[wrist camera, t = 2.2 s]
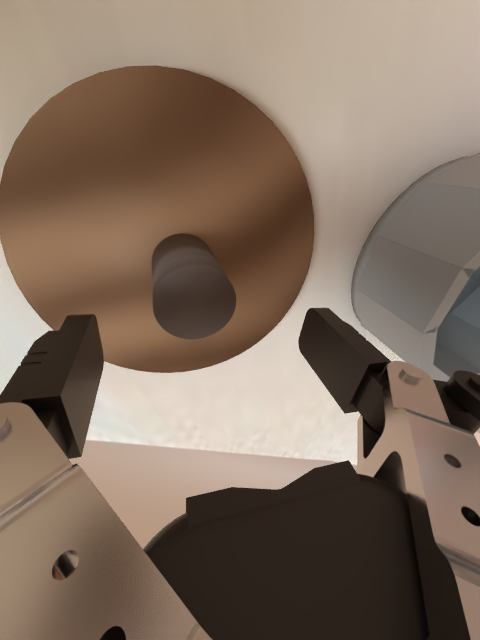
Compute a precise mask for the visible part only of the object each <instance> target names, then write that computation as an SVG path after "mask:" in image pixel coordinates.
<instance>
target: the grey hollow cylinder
mask: <svg viewBox="0 0 480 640" xmlns="http://www.w3.org/2000/svg"><path fill="white" fill-rule="evenodd" d="M351 298H352V305H353V309H354V312H355V314H356V317H357V318H358V320H359V321H360V322H361V324H362V326H363V327H364V328H366V329H367V330H368V331H369V332H370V333H372V334H373V335H374V336H375V337H376V338H378V339H379V340H380V341H381V342H382V343H384V344H385V345H386V346H387V347H388V348H390V349H391V350H392V351H393V352H394V353H396V354H397V355H398V356H399V357H400V358H402V359H403V360H404V361H405V362H406V363H409V364H412V365H414V366H416V367H418V368H420V369H421V370H423V371H424V372H426V373H427V374H428V375H429V376H430V377H431V378H432V379H433V380H439V381H446V382H447V381H448V380H449V379H450V377H451V376H452V375H453V373H454V372H455V371H459V370H463V371H469V372H472V373H475V374H478V375H480V153H479V154H477V155H475V156H471V157H463V158H459V159H456V160H453V161H450V162H447V163H445V164H443V165H441V166H439V167H437V168H435V169H433V170H432V171H430V172H428V173H427V174H425V175H424V176H422V177H421V178H420V179H418V180H417V181H416V182H414V183H413V184H412V185H411V186H410V187H409V188H407V189H406V190H405V191H404V192H403V193H402V194H401V195H400V196H399V197H398V198H397V199H396V200H395V201H394V202H393V203H392V205H391V206H390V207H389V208H388V209H387V210H386V212H385V213H384V214H383V216H382V217H381V218H380V219H379V221H378V222H377V224H376V225H375V227H374V228H373V230H372V232H371V233H370V235H369V237H368V239H367V241H366V242H365V244H364V246H363V248H362V251H361V253H360V255H359V258H358V261H357V264H356V267H355V270H354V274H353V280H352V288H351Z"/></svg>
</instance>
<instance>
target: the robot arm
mask: <svg viewBox="0 0 480 640" xmlns="http://www.w3.org/2000/svg"><path fill="white" fill-rule="evenodd" d="M299 349H300V352H301V353H302V355H303V356H304V358H305V359H306V360H307V362H308V363H309V365H310V366H311V367H312V369H313V370H314V371H315V373H316V374H317V376H318V377H319V378H320V380H321V381H322V383H323V384H324V385H325V387H326V388H327V390H328V391H329V392H330V394H331V395H332V396H333V398H334V399H335V401H336V402H337V403H338V405H339V406H340V408H341V409H342V410H343V412H344V413H351V412H357V411H359V413H360V414H361V415H360V417H359V419H358V462H357V471H355V470H354V468H353V466H352V465H351V463H350V462H349V460H348V461H344V462H340V463H335V464H331V465H327V466H323V467H318V468H314V469H312V470H311V471H309V472H308V473H306V474H305V475H303V476H301V477H300V478H298V479H297V480H295V481H293V482H292V483H290V484H289V485H287V486H285V487H284V488H282V489H278V490H271V489H252V488H235V487H231V488H227V489H223V490H218V491H214V492H210V493H206V494H201V495H197V496H193V497H188V498H186V513H185V514H183V515H181V516H179V517H178V518H176V519H175V520H173V521H172V522H171V523H169V524H168V525H167V526H165V527H164V528H163V529H162V530H161V531H160V532H159V533H158V534H157V535H156V536H155V537H153V538H152V540H151V541H150V542H149V543H148V544H147V545H146V547H145V548H144V549H142V548H141V546H140V545H139V544H138V542H137V541H136V540H135V538H134V537H133V536H132V534H131V533H130V532H129V530H128V529H127V528H126V526H125V525H124V524H123V522H122V521H121V520H120V518H119V517H118V516H117V514H116V513H115V512H114V511H113V509H112V508H111V506H110V505H109V504H108V502H107V501H106V500H105V498H104V497H103V496H102V494H101V493H100V492H99V490H98V489H97V488H96V486H95V485H94V484H93V482H92V481H91V480H90V478H89V477H88V476H87V474H86V473H85V472H84V471H83V469H82V468H81V467H80V466H79V465H78V464H75V465H73V464H72V463H71V462H70V461H69V459H71V458H76V457H81V456H82V452H83V448H84V444H85V440H86V435H87V431H88V427H89V423H90V419H91V415H92V411H93V407H94V403H95V399H96V395H97V391H98V387H99V383H100V379H101V375H102V371H103V364H104V355H103V348H102V343H101V338H100V333H99V328H98V323H97V318H96V316H95V315H94V314H80V315H68V316H67V317H66V318H65V320H64V322H63V324H62V326H61V328H60V329H59V330H58V331H48V332H47V333H46V334H44V335H43V336H41V337H40V338H39V339H37V340H36V341H35V342H34V343H33V345H32V346H31V348H30V350H29V351H28V353H27V355H26V356H25V357H24V359H23V361H22V362H21V366H19V367H18V368H17V370H16V371H15V373H14V375H13V376H12V378H11V379H10V381H9V382H8V384H7V385H6V387H5V389H4V390H3V392H2V393H1V395H0V640H480V446H479V444H478V442H477V440H476V438H475V436H474V434H475V433H476V432H477V431H478V429H479V428H480V375H478V374H475V373H472V372H469V371H463V370H459V371H455V372H454V373H453V375H452V376H451V377H450V379H449V380H448V381H447V382H446V381H439V380H433V379H432V378H431V377H430V376H429V375H428V374H427V373H426V372H424V371H423V370H421V369H420V368H418V367H416V366H414V365H412V364H409V363H406V362H401V361H393V362H391V361H390V360H389V359H388V358H387V357H385V356H384V355H383V354H382V353H381V352H380V351H379V350H378V349H377V348H375V347H374V346H373V345H372V344H371V343H370V342H369V341H368V340H367V341H366V339H365V338H364V337H363V336H362V335H361V334H359V332H357V331H356V330H355V329H354V328H353V327H352V326H351V325H349V324H347V323H346V322H344V321H342V320H341V319H340V318H339V317H338V316H337V315H336V314H335V313H333V312H332V311H331V310H330V309H329V308H310V309H309V310H308V311H307V313H306V316H305V319H304V323H303V326H302V330H301V333H300V337H299Z"/></svg>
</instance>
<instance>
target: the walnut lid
mask: <svg viewBox="0 0 480 640" xmlns="http://www.w3.org/2000/svg"><path fill="white" fill-rule="evenodd" d="M0 239H1V243H2V247H3V250H4V254H5V257H6V261H7V264H8V266H9V268H10V270H11V273H12V275H13V277H14V279H15V282H16V284H17V285H18V287H19V289H20V290H21V292H22V293H23V295H24V297H25V298H26V300H27V301H28V303H29V304H30V305H31V306H32V308H33V309H34V310H35V311H36V312H37V314H38V315H39V316H40V317H41V319H42V320H44V321H45V322H46V323H47V324H48V325H49V326H50V327H51V328H52V329H53V330H54V331H58V330H59V329H60V328H61V326H62V324H63V322H64V320H65V318H66V317H67V316H68V315H80V314H94V315H95V316H96V318H97V323H98V328H99V333H100V338H101V343H102V348H103V355H104V361H105V362H108V363H111V364H114V365H117V366H120V367H125V368H129V369H133V370H139V371H147V372H160V373H172V372H185V371H191V370H197V369H201V368H205V367H209V366H213V365H216V364H218V363H221V362H224V361H226V360H228V359H231V358H233V357H235V356H237V355H239V354H241V353H242V352H244V351H246V350H247V349H249V348H251V347H252V346H253V345H255V344H256V343H257V342H259V341H260V340H261V339H263V338H264V337H265V336H266V335H267V334H268V333H269V332H270V331H272V330H273V329H274V327H275V326H276V325H277V324H278V323H279V322H280V321H281V320H282V319H283V317H284V316H285V314H286V313H287V312H288V310H289V309H290V308H291V306H292V304H293V303H294V301H295V299H296V298H297V296H298V294H299V292H300V290H301V287H302V285H303V283H304V281H305V278H306V275H307V272H308V268H309V265H310V260H311V256H312V251H313V241H314V214H313V207H312V200H311V195H310V191H309V188H308V184H307V181H306V177H305V175H304V173H303V170H302V168H301V166H300V163H299V161H298V158H297V157H296V155H295V153H294V152H293V150H292V148H291V147H290V145H289V143H288V141H287V140H286V138H285V137H284V136H283V135H282V133H281V132H280V131H279V130H278V128H277V127H276V126H275V125H274V123H273V122H272V121H271V120H270V119H269V118H268V117H267V116H266V115H265V114H264V113H263V112H262V111H261V110H260V109H258V108H257V107H256V106H255V105H254V104H253V103H251V102H250V101H249V100H247V99H246V98H244V97H243V96H242V95H240V94H239V93H237V92H236V91H234V90H233V89H231V88H229V87H227V86H225V85H223V84H221V83H219V82H217V81H215V80H213V79H211V78H208V77H205V76H202V75H199V74H196V73H193V72H189V71H186V70H182V69H175V68H168V67H161V66H131V67H124V68H119V69H114V70H109V71H105V72H100V73H97V74H95V75H93V76H90V77H88V78H85V79H83V80H81V81H78V82H76V83H74V84H72V85H70V86H69V87H67V88H66V89H64V90H63V91H61V92H60V93H58V94H57V95H55V96H54V97H52V98H51V99H50V100H49V101H48V102H47V103H46V104H45V105H44V106H43V107H42V108H41V109H40V110H39V111H38V112H37V113H36V114H34V115H33V116H32V117H31V118H30V120H29V121H28V123H27V124H26V126H25V127H24V129H23V130H22V132H21V133H20V135H19V136H18V138H17V139H16V141H15V142H14V145H13V147H12V149H11V152H10V154H9V156H8V159H7V161H6V163H5V166H4V170H3V175H2V179H1V184H0Z"/></svg>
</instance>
